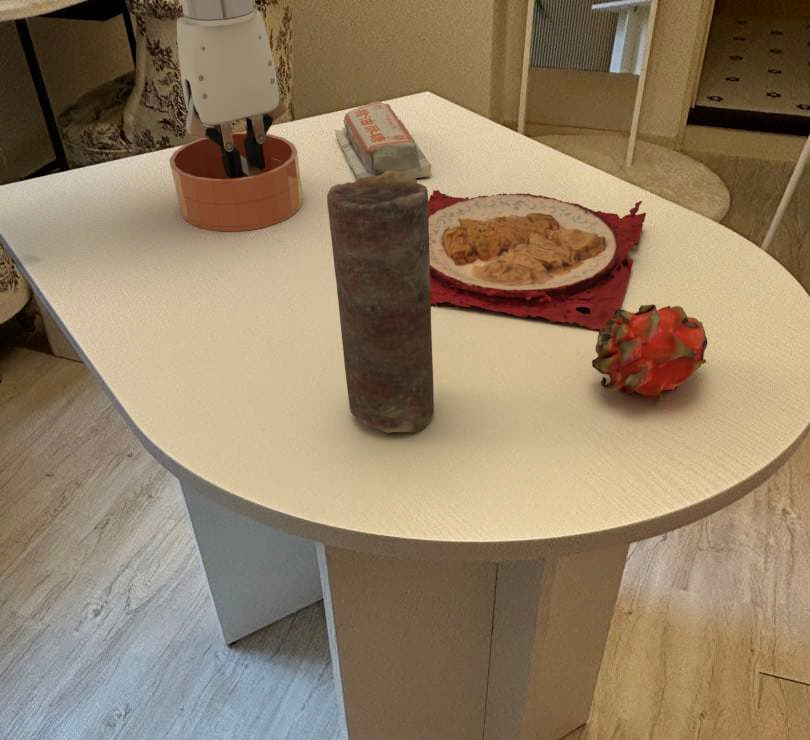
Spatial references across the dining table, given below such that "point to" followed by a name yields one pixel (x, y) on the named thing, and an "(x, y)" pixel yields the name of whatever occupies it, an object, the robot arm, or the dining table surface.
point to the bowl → (236, 185)
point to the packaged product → (380, 143)
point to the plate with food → (530, 256)
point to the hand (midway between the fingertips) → (246, 177)
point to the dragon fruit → (649, 350)
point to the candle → (384, 298)
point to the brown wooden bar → (247, 167)
